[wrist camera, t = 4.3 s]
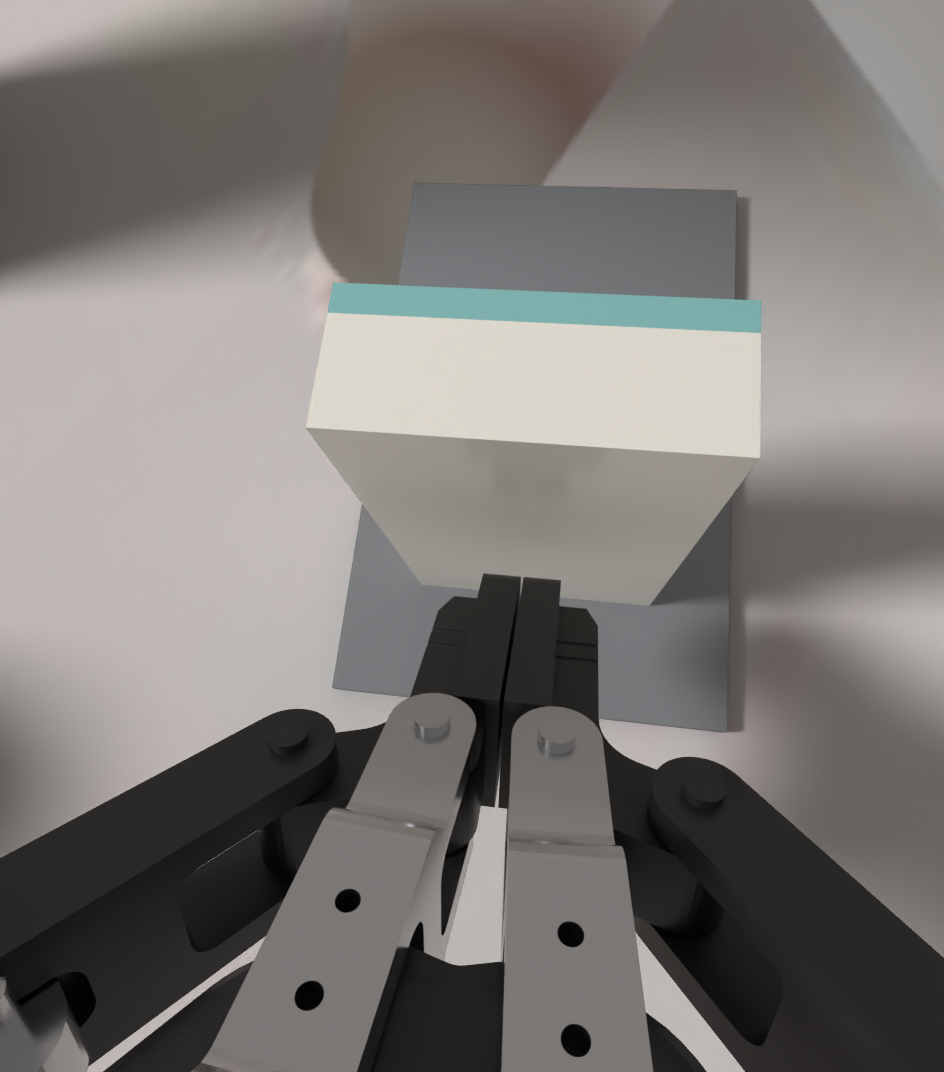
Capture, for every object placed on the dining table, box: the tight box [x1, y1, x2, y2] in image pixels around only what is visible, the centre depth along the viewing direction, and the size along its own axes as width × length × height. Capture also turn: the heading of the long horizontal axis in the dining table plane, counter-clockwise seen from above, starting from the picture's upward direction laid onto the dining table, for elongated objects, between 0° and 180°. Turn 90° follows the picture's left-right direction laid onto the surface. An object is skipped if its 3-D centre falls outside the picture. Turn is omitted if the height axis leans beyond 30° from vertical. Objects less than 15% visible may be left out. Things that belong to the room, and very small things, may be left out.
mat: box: [332, 183, 737, 732], centre depth 21 cm, size 10×16×1 cm, turn 173°
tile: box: [306, 283, 761, 606], centre depth 15 cm, size 6×2×10 cm, turn 84°
